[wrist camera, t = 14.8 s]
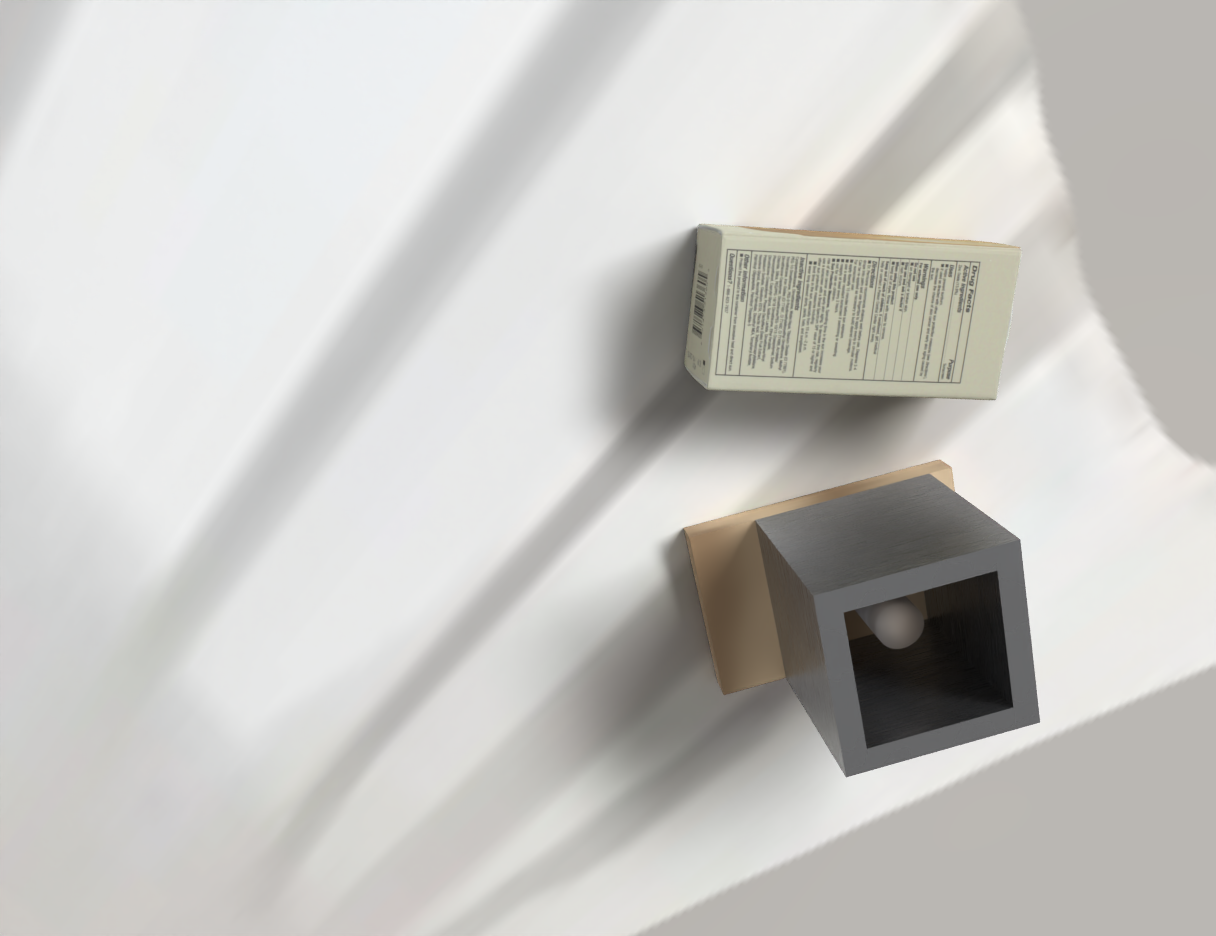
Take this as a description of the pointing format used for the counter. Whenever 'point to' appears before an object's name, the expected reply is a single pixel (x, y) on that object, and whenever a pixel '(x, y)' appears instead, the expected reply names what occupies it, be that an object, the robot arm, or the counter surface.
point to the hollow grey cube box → (952, 635)
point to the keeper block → (742, 594)
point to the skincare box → (849, 313)
